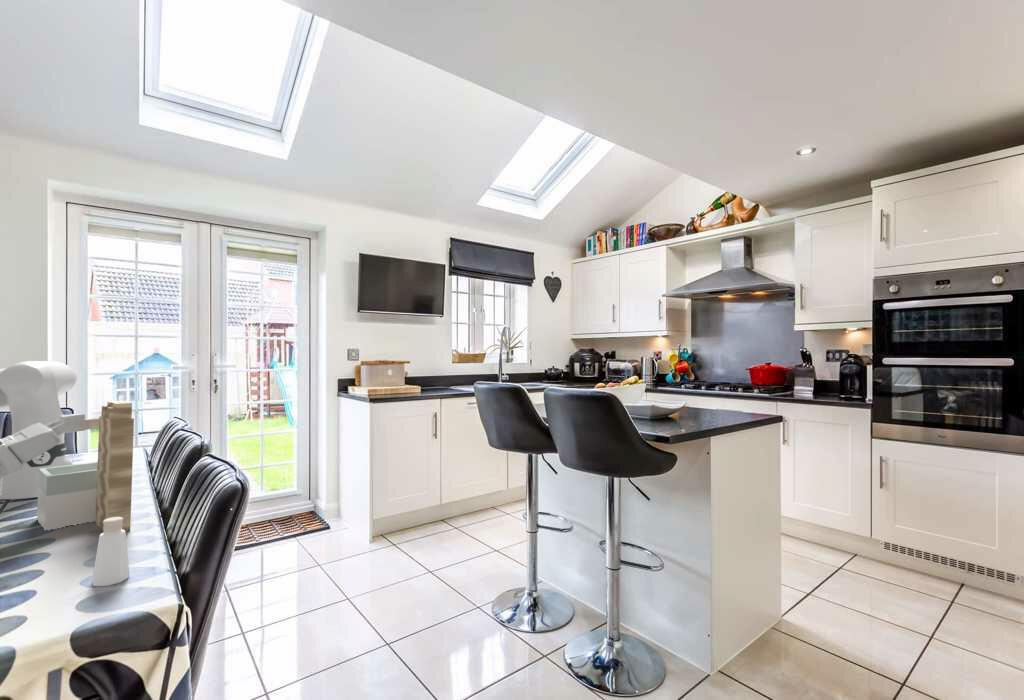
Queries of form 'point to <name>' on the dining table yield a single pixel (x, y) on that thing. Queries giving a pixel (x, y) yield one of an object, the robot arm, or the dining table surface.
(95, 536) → the dining table surface
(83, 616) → the dining table surface
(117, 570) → the pepper shaker
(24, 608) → the dining table surface
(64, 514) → the raised tray
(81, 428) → the bar
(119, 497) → the tan wooden tall block
